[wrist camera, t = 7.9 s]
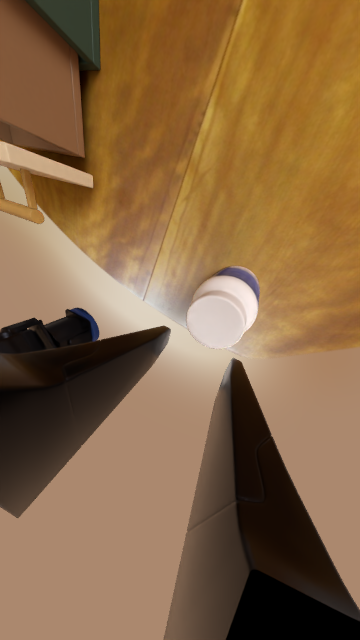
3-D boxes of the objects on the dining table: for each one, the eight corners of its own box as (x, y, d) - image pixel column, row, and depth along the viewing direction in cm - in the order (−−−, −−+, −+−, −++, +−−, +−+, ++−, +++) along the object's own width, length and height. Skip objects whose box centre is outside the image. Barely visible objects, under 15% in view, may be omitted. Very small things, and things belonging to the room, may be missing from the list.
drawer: (95, 232, 22) (26, 229, 15) (31, 211, 25) (-48, 201, 19) (81, -63, 12) (-136, -423, 5) (-23, -30, 15) (-228, -224, 9)
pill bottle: (220, 257, 17) (190, 270, 10) (270, 276, 16) (275, 306, 9) (203, 301, 20) (170, 335, 13) (244, 319, 19) (232, 369, 12)
